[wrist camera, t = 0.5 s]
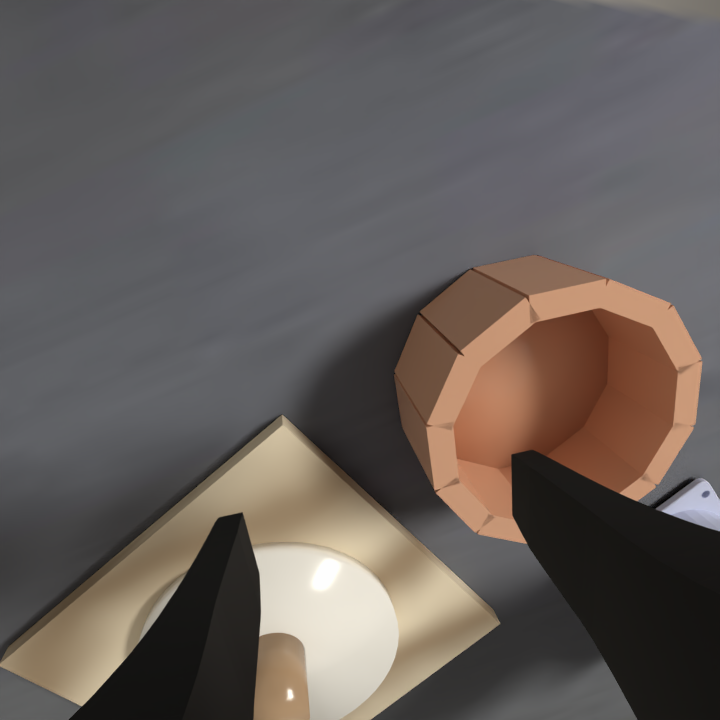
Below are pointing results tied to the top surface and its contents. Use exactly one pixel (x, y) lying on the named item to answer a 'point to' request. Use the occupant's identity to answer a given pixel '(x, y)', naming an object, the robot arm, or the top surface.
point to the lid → (315, 632)
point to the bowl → (544, 384)
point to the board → (264, 524)
